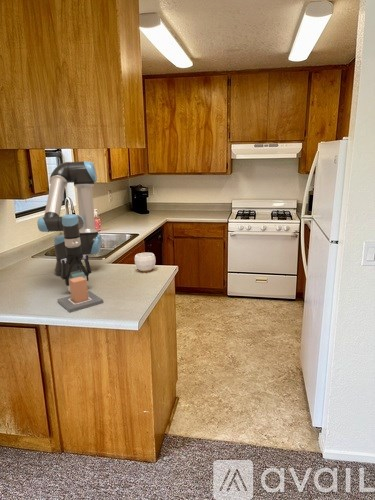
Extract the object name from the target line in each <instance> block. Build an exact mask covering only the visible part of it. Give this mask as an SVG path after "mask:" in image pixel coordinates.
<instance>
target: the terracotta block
mask: <svg viewBox="0 0 375 500" xmlns="http://www.w3.org/2000/svg"><path fill="white" fill-rule="evenodd" d="M69 284H70V291H69V292H70V296H71V299H72V300H73V301H74V302H76V303H78V302H82V301H86V300H89V298H88V291H89V288H87V286H88V281H87V280H86V279H85V278H83V277H82V276H81V277H77V278H72V279H69Z"/></svg>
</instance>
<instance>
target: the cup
mask: <svg viewBox="0 0 375 500" xmlns="http://www.w3.org/2000/svg"><path fill="white" fill-rule="evenodd" d="M156 262H157V261H156V256H155V254H154V253H153V252H141V253H140V252H139V253H136V254H135V255H134V264H135V268H136V269H137V270H139V271H141V272H142V273H147V272H150V271H151V270H153V269H154V268H155V265H156Z"/></svg>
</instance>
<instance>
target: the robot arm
mask: <svg viewBox="0 0 375 500" xmlns="http://www.w3.org/2000/svg"><path fill="white" fill-rule="evenodd" d="M97 181H98V175H97V171H96V167H95V164H94V163H93V162H92V161H85V160H84V161H67V162H66V161H65V162H63V163H61V164H59V165H57V166H56V167H55V168H54V169H53V171H52V172H51V173H50V177H49V184H50V185H49V190H48V191H49V192H48V196H47V201H46V205H45V209H44V215H43V216H41V217H38V219H37V222H36V223H37V228H38V231H39V232H42V233H50V232H63V233H62V234H59V235H57V236H55V237H54V239H53V242H54V243H53V245H54V251H55V258H56V260H55V261H56V263H55V268H54V275H56V276H58V277H60V279H62V280H64V281H65V285H66V286H67V289H68V292H70V284H69V277H70V273H71V272H75V271H79V270H80V271H82V272H83V273H84V274H85V279H86V280H87V282H89V276H90V274H92V269H91V265H90V262H89V255H90V256H91V255H98V254H99V253H100V251H101V249H102V235H101V234H100V233H99V231H98V230H97V229H96V224H95V223H96V222H95V209H94V197H93V196H94V194H93V187H94V186H95V183H96V182H97ZM69 183H73V186H74V187H75V188H76V193H77V195H76V196H77V205H78V214H76V213H75V214H74V213H72V214H65V215H62V216H60V215H61V210H62V205H63V198H64V195H65V194H64V193H65V188H66V187H67V185H68V184H69ZM82 260H84V264H85V266H84V264H83V262H82ZM88 286H89V285H87V289H89V287H88Z"/></svg>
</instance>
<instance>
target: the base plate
mask: <svg viewBox="0 0 375 500" xmlns="http://www.w3.org/2000/svg"><path fill="white" fill-rule="evenodd" d="M88 298H89V300H86V301H82V302H78V303H76V302H74V301H73V300H72V299H71V295H68V296H64V297H61V298H57V299H56V300H57V303H58V304H59V305H61V307H63V308H64V309H65V310H66V311H67V312H69V313H74V312H77V311H79V310H83V309H86V308H87V309H88V308H90V307H93V306H97V305H101V304H104V299H102V298H101V297H100V296H99V295H96V294H95V293H94V292H92V291H90V290H88Z"/></svg>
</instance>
